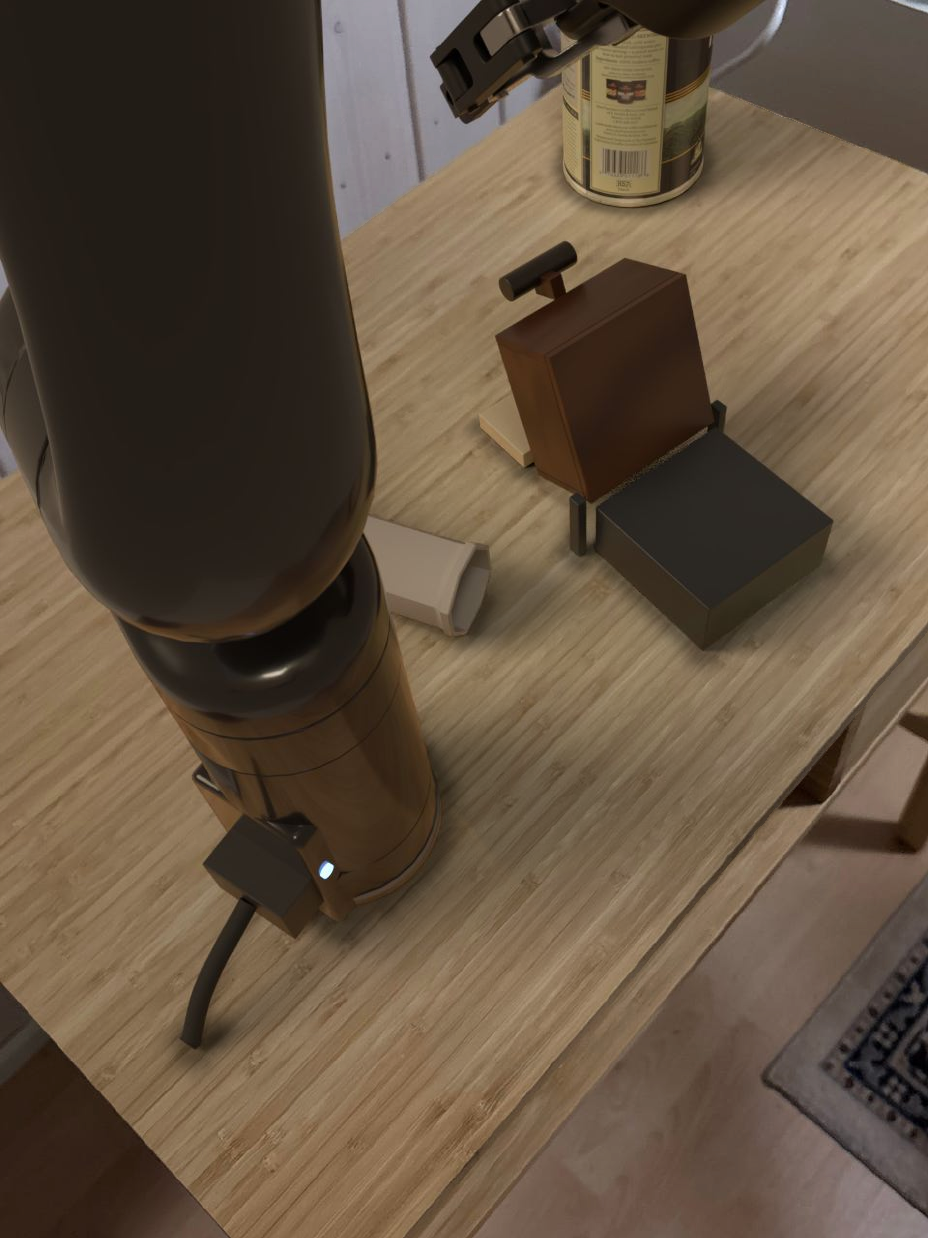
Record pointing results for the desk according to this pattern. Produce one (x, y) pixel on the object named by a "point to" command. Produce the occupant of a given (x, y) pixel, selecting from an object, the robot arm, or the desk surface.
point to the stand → (707, 534)
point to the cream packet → (507, 429)
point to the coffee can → (636, 118)
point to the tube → (430, 574)
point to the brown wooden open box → (603, 369)
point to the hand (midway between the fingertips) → (533, 61)
